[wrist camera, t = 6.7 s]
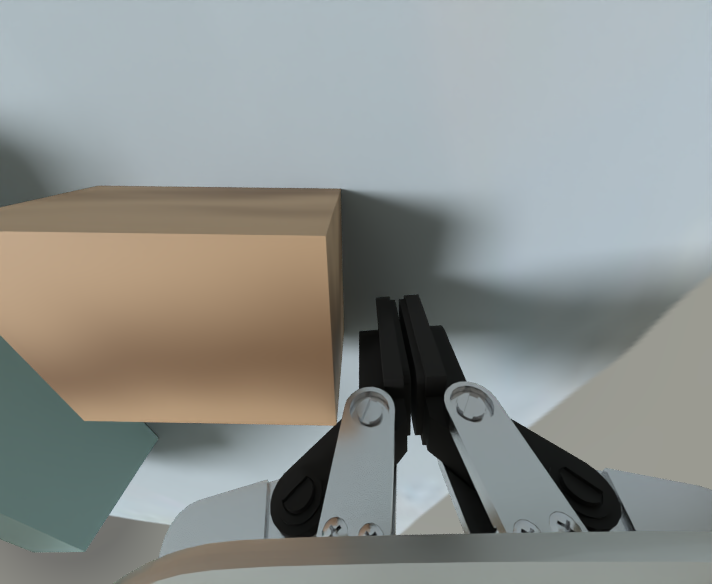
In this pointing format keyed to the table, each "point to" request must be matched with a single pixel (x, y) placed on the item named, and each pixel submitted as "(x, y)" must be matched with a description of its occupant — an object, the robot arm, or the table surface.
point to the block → (179, 301)
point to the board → (58, 463)
